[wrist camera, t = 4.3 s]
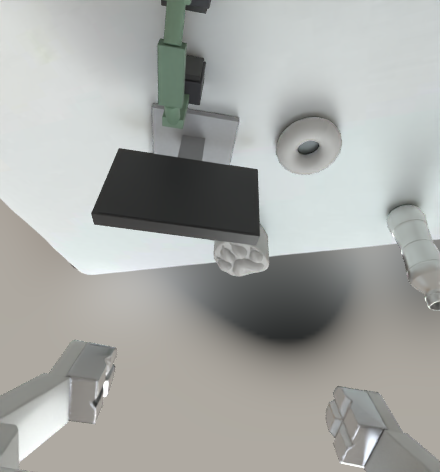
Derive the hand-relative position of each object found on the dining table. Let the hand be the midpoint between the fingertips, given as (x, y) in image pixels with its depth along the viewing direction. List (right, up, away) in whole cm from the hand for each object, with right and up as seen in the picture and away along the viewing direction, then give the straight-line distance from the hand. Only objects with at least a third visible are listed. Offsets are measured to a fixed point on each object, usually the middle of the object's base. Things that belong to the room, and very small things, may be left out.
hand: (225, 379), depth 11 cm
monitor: (-4, +22, +38) cm, 44 cm away
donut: (+14, +21, +38) cm, 46 cm away
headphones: (-4, +31, +26) cm, 41 cm away
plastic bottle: (+36, +10, +50) cm, 62 cm away
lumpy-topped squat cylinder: (+4, +6, +57) cm, 58 cm away
